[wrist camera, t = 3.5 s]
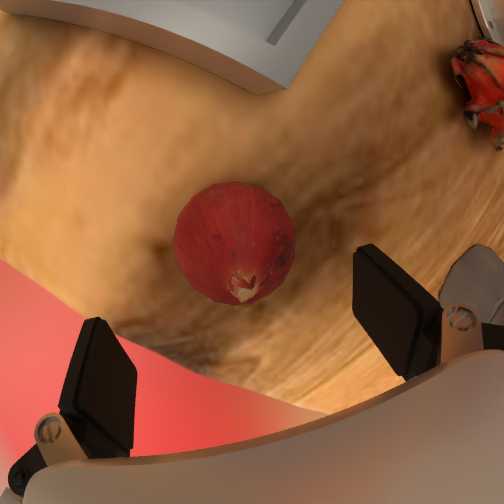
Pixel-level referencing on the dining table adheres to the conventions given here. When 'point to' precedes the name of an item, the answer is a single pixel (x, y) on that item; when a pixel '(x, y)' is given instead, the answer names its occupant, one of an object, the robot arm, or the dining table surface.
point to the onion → (234, 243)
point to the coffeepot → (477, 284)
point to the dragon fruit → (483, 85)
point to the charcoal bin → (206, 31)
